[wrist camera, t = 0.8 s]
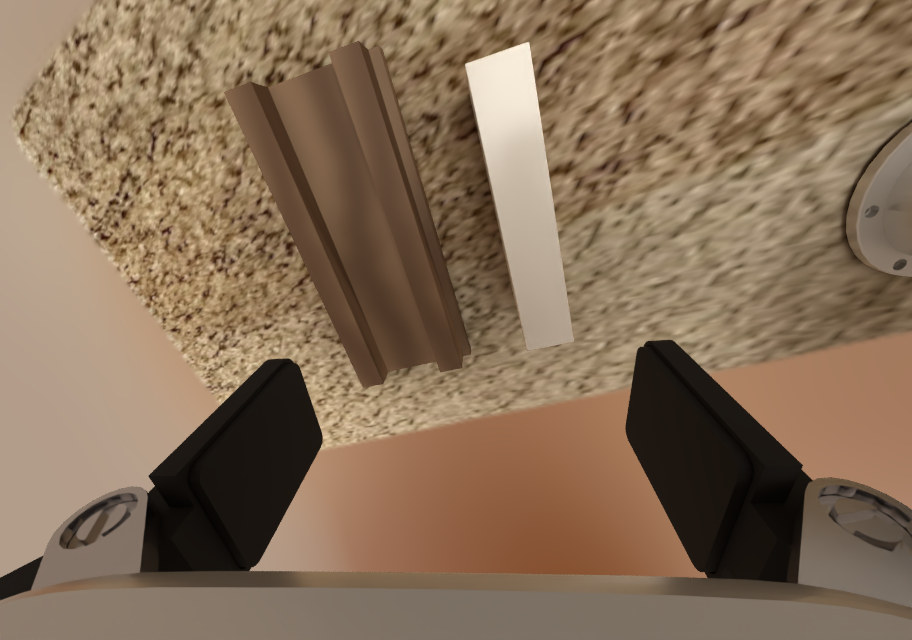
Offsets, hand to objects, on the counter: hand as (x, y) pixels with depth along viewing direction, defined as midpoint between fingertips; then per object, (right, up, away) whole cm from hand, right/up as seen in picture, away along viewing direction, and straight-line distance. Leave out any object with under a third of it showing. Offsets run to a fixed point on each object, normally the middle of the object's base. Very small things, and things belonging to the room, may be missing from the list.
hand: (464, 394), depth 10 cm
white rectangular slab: (+4, +11, +18) cm, 21 cm away
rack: (-7, +9, +19) cm, 23 cm away
